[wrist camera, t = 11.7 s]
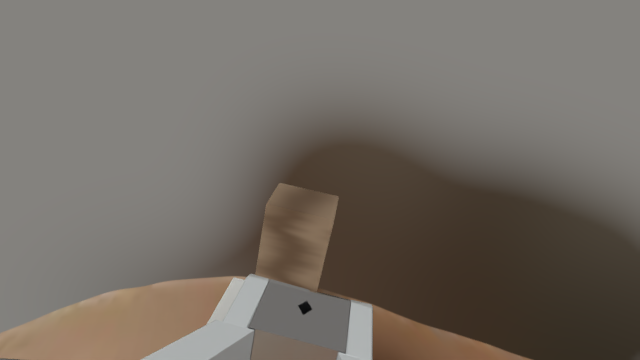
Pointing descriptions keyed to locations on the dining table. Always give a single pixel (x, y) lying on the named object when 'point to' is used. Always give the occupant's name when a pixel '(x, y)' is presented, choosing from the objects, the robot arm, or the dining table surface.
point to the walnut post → (296, 236)
